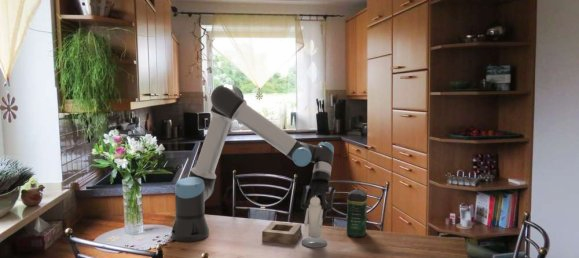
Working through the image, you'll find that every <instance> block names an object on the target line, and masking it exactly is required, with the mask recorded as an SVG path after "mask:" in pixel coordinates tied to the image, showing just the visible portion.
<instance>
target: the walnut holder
mask: <svg viewBox="0 0 579 258" xmlns="http://www.w3.org/2000/svg"><path fill="white" fill-rule="evenodd" d="M261 233H262V234H261V241H262V242H266V243H267V242H269V243H276V244H277V243H278V244H287V245H294V244H295V243H296V242H297V240H298V239H299V237H300V236H301V235H302V224H301V223H293V222H292V223H290V222H281V221H271V222H270V223H269V224H268V225H267V226H266V227H265V228H264V229H263V230H262V232H261Z"/></svg>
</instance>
